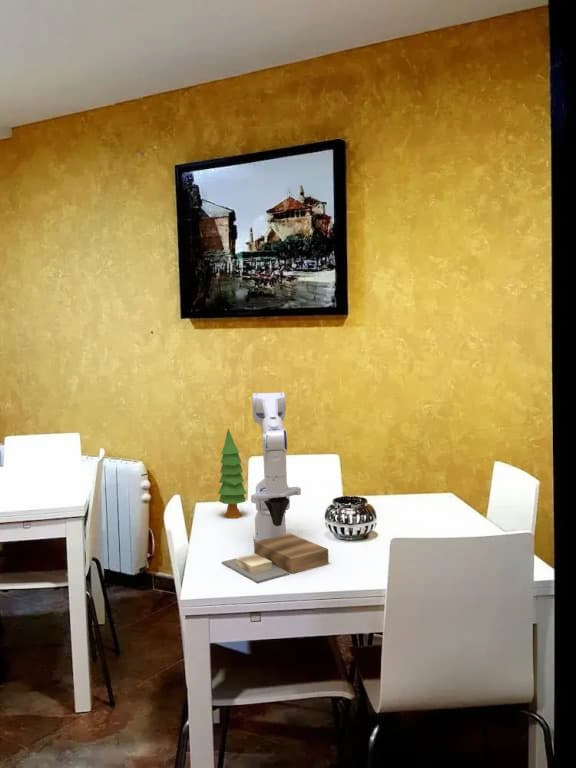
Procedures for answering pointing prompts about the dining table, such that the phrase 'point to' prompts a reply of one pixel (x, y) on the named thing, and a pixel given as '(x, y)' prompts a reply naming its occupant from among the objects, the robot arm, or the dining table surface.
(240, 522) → the dining table surface
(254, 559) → the birch tile
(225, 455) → the decorative tree
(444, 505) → the dining table surface
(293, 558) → the walnut deck
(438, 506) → the dining table surface
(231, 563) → the rubber mat
